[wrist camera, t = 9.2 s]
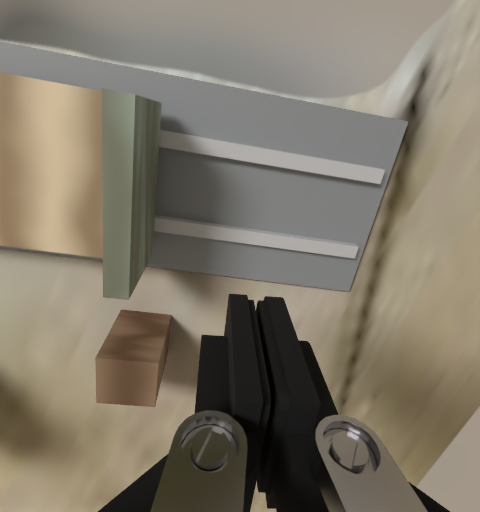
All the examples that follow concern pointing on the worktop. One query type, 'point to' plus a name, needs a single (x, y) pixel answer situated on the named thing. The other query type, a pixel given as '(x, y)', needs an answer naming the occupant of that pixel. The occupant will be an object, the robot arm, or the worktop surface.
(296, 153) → the rail track
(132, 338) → the walnut block
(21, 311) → the worktop surface
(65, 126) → the multicoloured piece
